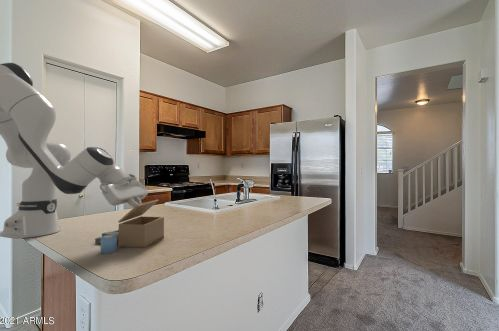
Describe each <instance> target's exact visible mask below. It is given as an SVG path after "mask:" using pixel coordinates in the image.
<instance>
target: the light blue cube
mask: <svg viewBox="0 0 499 331" xmlns="http://www.w3.org/2000/svg"><path fill="white" fill-rule="evenodd" d="M100 237H101V243H100V254H101V255H102V254H103V255H107V254H113V253H116V252H117V251H118V242H117V235H105V236H102V235H101V236H100Z"/></svg>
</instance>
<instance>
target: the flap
mask: <svg viewBox="0 0 499 331" xmlns="http://www.w3.org/2000/svg"><path fill="white" fill-rule="evenodd" d="M159 201H160V200H159V199H155V200H149V201H147V202H141V203H142V204H138V205H136V206H135V207H133V208H132V209H131V210H130V211H129V212H127V213H126V214H125V215H124V216H123V217H122V218H120V219H119V220H118V221H117V222H118V224H120V223H123V222H126V221H129V220H132V219H135V218H138V217H141V216H143V215H144V214H146V212H147V211H148V210H150V209H151V208H152V207H153V206H155V204H156V203H158V202H159Z"/></svg>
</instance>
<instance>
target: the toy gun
mask: <svg viewBox="0 0 499 331" xmlns="http://www.w3.org/2000/svg"><path fill="white" fill-rule="evenodd" d="M105 235H117V244H119V229H117V230H112V231H107V232H103V233H101V236H99V237H96V238H94V240H95V242H94V243H95V244H101V237H102V236H105Z"/></svg>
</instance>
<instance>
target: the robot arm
mask: <svg viewBox="0 0 499 331" xmlns="http://www.w3.org/2000/svg"><path fill="white" fill-rule="evenodd" d="M33 84H34V83H33V79H32V77H31V75H30V74H29V73H28V72H27V71H26V69H24V68H23V66H21V65H19V64H17V63H14V62H4V63H0V136H1V138H2V139H3V140H4V142H5V144H6V147H7V149H6V152H5V158H6V160H7V162H8V163H9V164H10V165H12V166H14V167H15V166H16V167H19V168H23V169H32V171H31V173H30V174H29V176H28V177H27V178H25V179H24V180H23V182H22V184H21V185H22V187H21V188H22V189H21V194H22V195H21V197H22V198H21V201H20V202H16V206H18V210H17V211H15V213H13V214H12V215H11V216H9V217H8V218H6V219H5V220H4V222H3V230H1V231H0V238H1V237H2V238H6V239H15V240H20V239H26V238H33V237H40V236H41V237H42V236H46V235H51V234H55V233H58V232H60V231H61V225H60V224H59V217H58V211H57V207H58V200H57V198H56V196H57V193H56V190H57V189H58V191H60V192H61V193H63V194H65V195H76V194H80V193H82V192H83V191H84V190H85V189H86V188H87V187H88V185H89V184H90V183H92V182H93V181H95V179H98V180H99V182H100V185H99V190H101V193H102V195H103V197H104V198H105V200H106V201H107V202H108V204H109V205H111V206H113V207H115V206H119V205H123V204H128V205H129V206H131V207H133V208H134V207H135V206H136V205H138V204H142V203H143V202H142V200H143V199H145V198H146V197H147V196H148V195H149V192H148V189H147V188H146V187H145V186H144V184H143V183H142V182H140V180H138V177H137V176H136V175H134V174H131V173H128V172H126V171H124V170H123V168H122V167H119V166H118V164H117V163H116V161H115V160H114V159H113V157H112V156H111V155H110V154H109V153H108V152H107V151H106V150H105V149H104V148H101V147H98V146H97V147H96V146H90V147H89V146H88V147H86V148H85V149H83V150H82V151H81V152H79V153H78V154H77V155H76V156H75V157H73V158H72V159H71V156H72V153H71V150H70V148H69V147H68V146H67V145H65V144H63V143H59V142H54V141H47V140H48V136H49V134H50V132H51V130H52V129H53V127H54V125H55V123H56V118H57V115H56V113H57V112H56V109H55V107H54V106H53V104H51V102H50V101H49V100H48V99H47V98H46V97H45V96H44V95H43V94H42V93H41V92H39V91H38V90H37V89H36V88H35V87H33Z"/></svg>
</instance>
